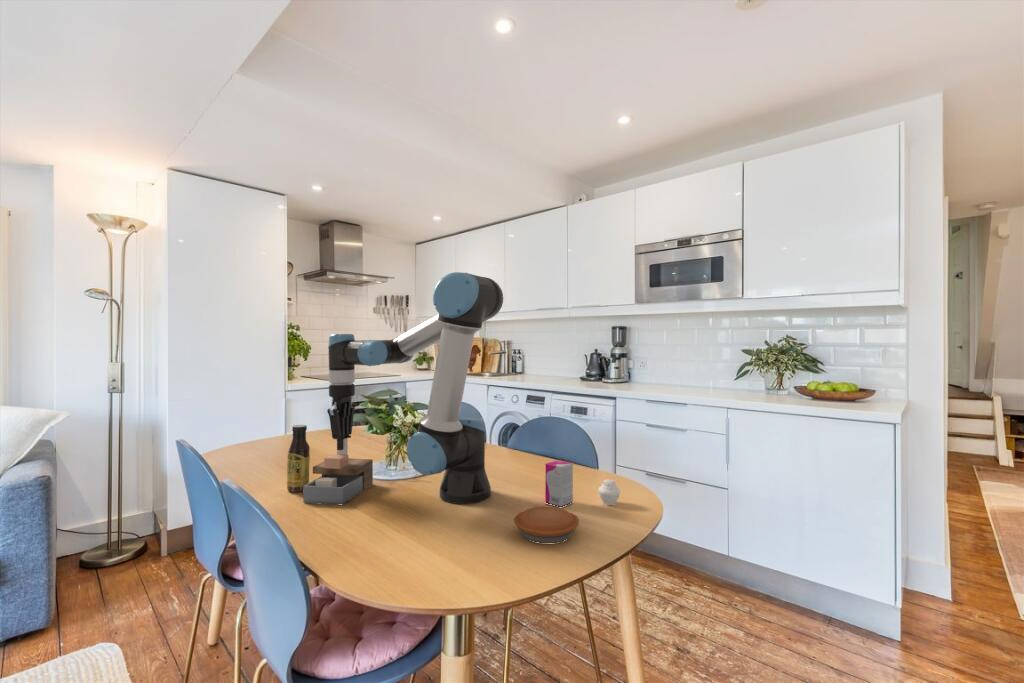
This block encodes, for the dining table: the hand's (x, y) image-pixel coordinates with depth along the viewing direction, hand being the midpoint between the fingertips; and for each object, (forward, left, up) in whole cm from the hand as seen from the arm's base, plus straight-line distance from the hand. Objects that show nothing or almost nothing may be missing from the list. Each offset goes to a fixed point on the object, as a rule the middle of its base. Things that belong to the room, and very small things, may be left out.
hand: (342, 459), depth 146 cm
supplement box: (-67, +3, -10) cm, 68 cm away
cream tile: (+1, +7, -6) cm, 9 cm away
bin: (-1, +7, -9) cm, 11 cm away
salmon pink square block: (0, +3, -1) cm, 3 cm away
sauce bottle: (+13, +2, -9) cm, 16 cm away
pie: (-65, +24, -10) cm, 70 cm away
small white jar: (-81, +1, -10) cm, 82 cm away
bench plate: (0, -1, -9) cm, 9 cm away
